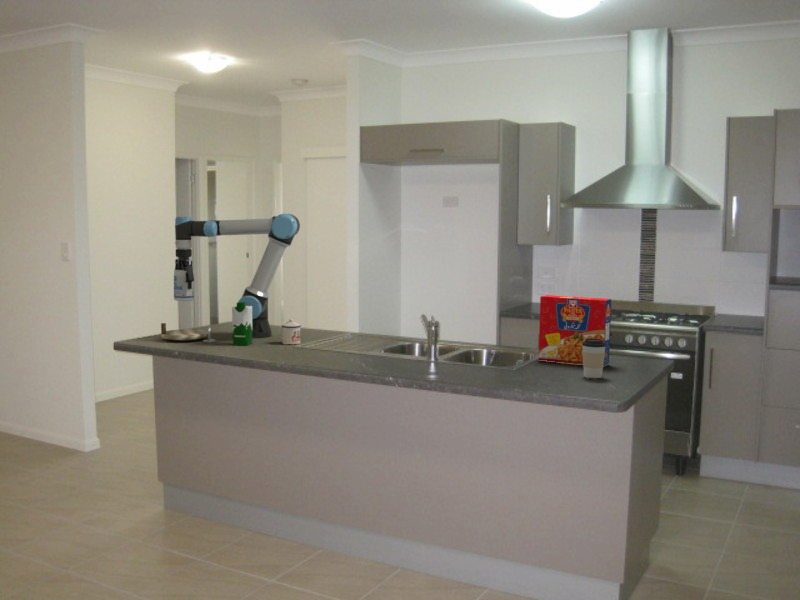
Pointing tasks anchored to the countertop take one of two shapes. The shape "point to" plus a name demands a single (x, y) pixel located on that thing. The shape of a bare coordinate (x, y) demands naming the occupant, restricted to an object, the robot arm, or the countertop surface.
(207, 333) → the dial pointer stand
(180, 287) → the supplement tub
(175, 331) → the lazy susan platter
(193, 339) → the turntable base
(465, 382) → the countertop surface
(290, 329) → the teacup with lid
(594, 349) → the coffee cup
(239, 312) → the milk carton
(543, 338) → the pasta box
